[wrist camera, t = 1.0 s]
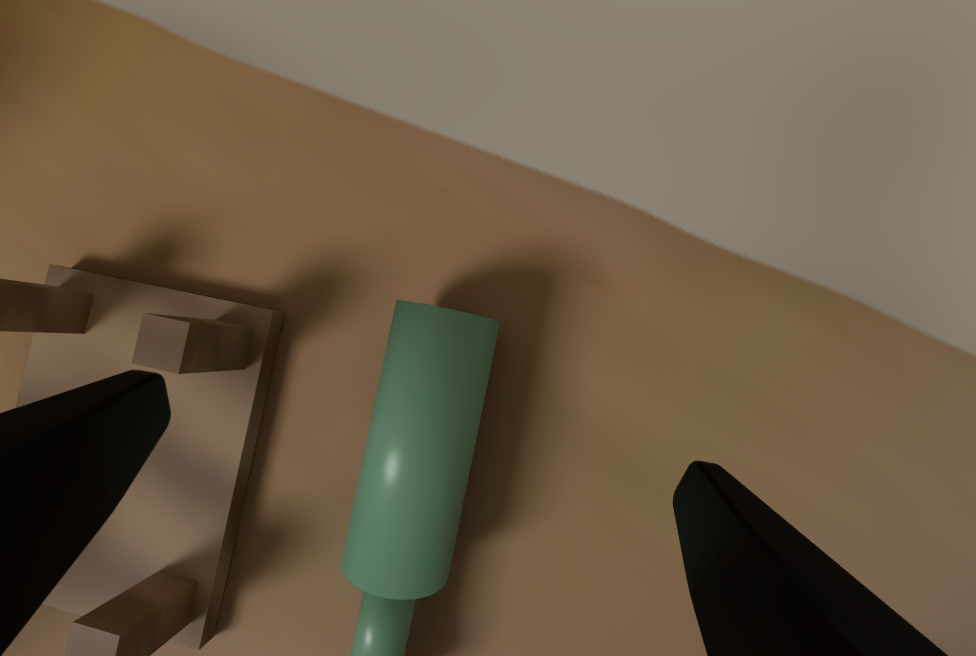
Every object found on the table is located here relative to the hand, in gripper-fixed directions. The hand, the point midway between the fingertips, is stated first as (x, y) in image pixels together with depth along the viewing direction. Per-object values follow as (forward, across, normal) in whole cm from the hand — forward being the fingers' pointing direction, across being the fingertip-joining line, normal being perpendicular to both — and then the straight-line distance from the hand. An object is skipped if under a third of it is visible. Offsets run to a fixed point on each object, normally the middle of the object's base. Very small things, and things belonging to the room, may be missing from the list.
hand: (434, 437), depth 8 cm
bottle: (+9, +1, +12) cm, 15 cm away
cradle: (+11, +15, +14) cm, 23 cm away
